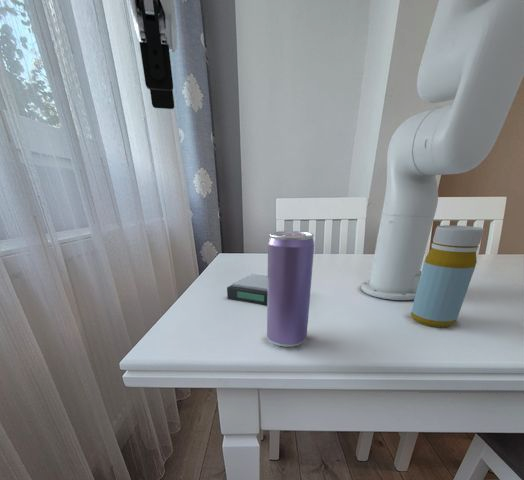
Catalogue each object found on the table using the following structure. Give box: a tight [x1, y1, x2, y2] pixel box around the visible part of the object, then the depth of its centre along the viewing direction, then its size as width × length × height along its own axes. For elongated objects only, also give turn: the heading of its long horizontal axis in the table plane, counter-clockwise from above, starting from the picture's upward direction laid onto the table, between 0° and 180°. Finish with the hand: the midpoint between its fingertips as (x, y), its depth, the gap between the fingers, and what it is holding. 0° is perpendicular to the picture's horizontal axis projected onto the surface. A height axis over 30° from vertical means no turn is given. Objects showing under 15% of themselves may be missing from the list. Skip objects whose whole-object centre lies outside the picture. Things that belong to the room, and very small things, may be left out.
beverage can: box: [266, 230, 315, 348], centre depth 41 cm, size 6×6×15 cm
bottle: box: [410, 224, 485, 328], centre depth 47 cm, size 7×7×15 cm
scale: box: [226, 273, 268, 306], centre depth 62 cm, size 11×10×3 cm
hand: (162, 99), depth 40 cm, fingers open, 9 cm apart
